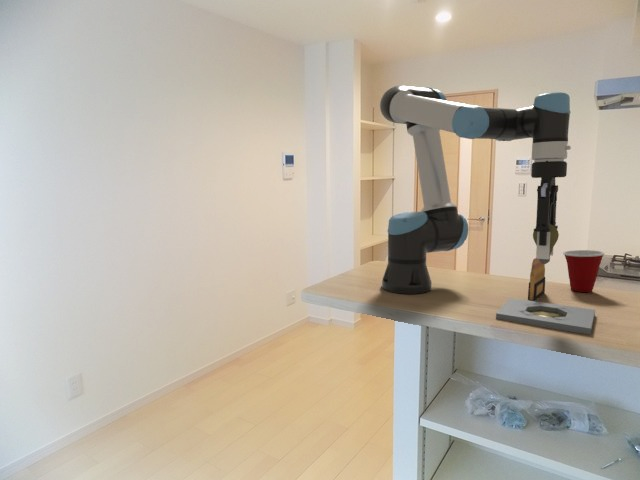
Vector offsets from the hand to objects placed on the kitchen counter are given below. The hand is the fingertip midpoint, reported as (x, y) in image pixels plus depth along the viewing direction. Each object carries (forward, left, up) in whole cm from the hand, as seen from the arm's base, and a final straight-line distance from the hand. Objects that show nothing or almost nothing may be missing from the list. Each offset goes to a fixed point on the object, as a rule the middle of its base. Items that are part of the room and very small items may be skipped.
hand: (544, 256), depth 107 cm
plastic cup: (+6, +34, -16) cm, 38 cm away
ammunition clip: (-4, +19, -16) cm, 25 cm away
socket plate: (+1, 0, -15) cm, 15 cm away
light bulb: (0, 0, -2) cm, 2 cm away
